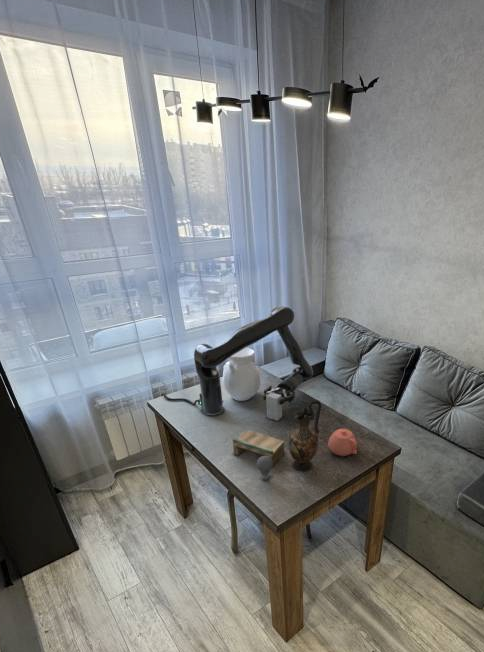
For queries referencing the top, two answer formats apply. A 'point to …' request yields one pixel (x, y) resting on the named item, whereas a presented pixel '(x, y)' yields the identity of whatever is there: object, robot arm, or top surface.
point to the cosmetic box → (274, 406)
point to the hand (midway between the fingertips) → (272, 400)
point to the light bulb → (265, 466)
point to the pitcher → (241, 375)
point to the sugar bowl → (342, 442)
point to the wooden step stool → (259, 445)
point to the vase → (304, 437)
